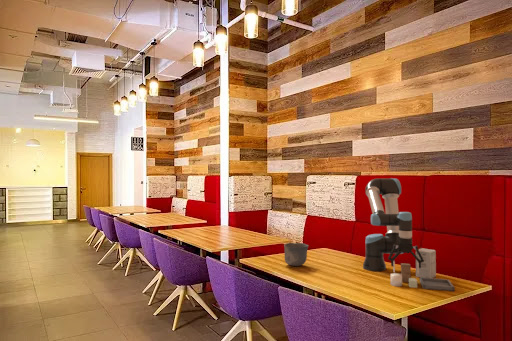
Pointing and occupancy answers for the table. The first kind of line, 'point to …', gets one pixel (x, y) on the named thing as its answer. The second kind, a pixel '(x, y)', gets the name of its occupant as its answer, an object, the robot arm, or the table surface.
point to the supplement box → (427, 263)
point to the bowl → (295, 253)
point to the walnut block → (405, 272)
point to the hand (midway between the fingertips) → (405, 272)
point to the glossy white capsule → (396, 279)
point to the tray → (437, 284)
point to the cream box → (413, 282)
